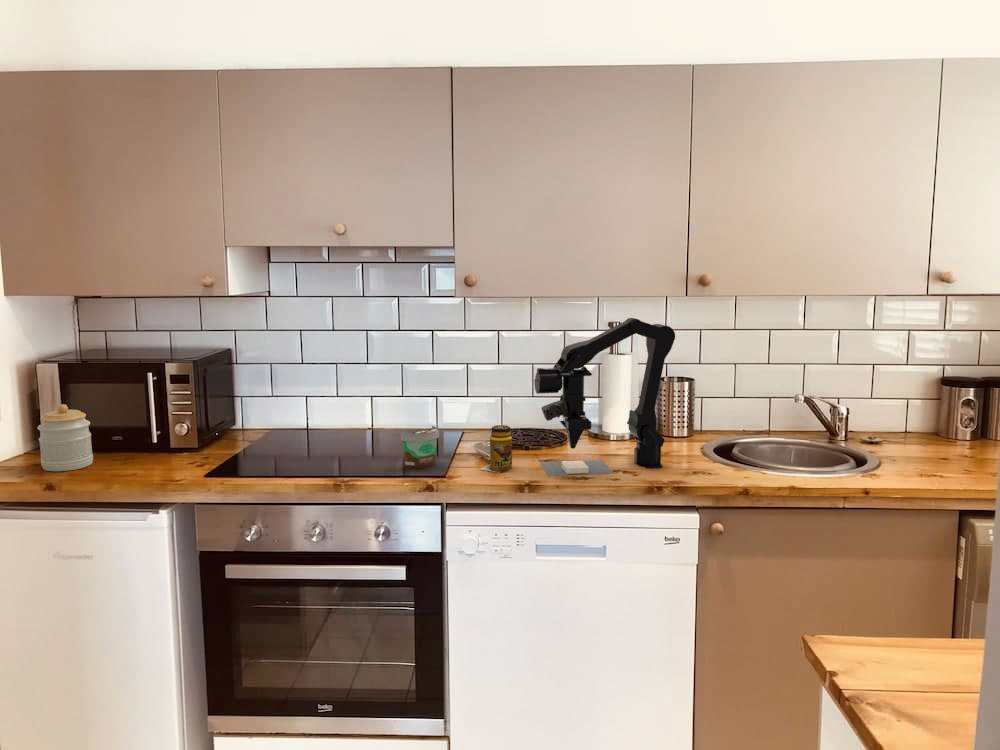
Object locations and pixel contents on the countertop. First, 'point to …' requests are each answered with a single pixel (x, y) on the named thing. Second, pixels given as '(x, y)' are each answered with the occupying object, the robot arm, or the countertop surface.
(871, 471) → the countertop surface
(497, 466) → the condiment
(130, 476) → the countertop surface
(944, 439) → the countertop surface
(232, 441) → the countertop surface
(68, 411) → the jar
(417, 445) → the food container
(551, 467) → the mat
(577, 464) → the tile
